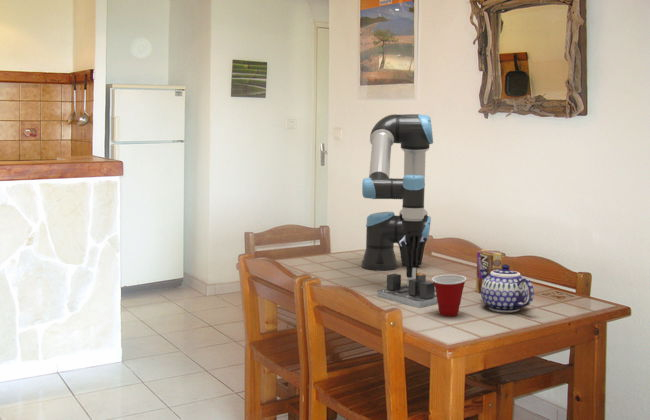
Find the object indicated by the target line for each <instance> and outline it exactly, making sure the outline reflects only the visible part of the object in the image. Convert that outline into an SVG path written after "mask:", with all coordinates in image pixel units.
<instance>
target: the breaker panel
mask: <svg viewBox="0 0 650 420" xmlns="http://www.w3.org/2000/svg"><path fill="white" fill-rule="evenodd" d="M376 296H377V297H378V298H382V299H386V300H389V301H394V302H397V303H401V304H405V305H408V306H412V307H416V308H419V309H420V308H425V307H428V306H433V305H434V306H435V305H438V302H437V295H436V288H435V285H434V282H433V281H429V280H428V281H427V280H426V282H423V280H421V279H412V280H409V286H407V284H405V285H402V275H401V274H397V273H391V274H390V273H389V274H387V275H386V288H384V289H380V290H377V291H376Z"/></svg>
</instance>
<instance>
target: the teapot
mask: <svg viewBox="0 0 650 420" xmlns="http://www.w3.org/2000/svg"><path fill="white" fill-rule="evenodd" d="M510 267H511V266H510V265H509V264H507V263H504V264H501V269H500V270H494V271H491V273H490V274H488V271H487V269H479V270H480V272H481V274H482V287H481V293H480V296H481V299H482V302H483V303H484V304H485V305H487V306H488V309H489V310H491V311H492V312H497V313H515V312H518V311H520V309H521V308H524V307H528V306H529V305H531V304H532V303H533V300H534V296H535V292H534V291H535V290H534V286H533V283H532V282H531V279H529V278H528V277H527V278H524V277H523V276H521V273H520V272H518V271H514V270H511V269H510Z"/></svg>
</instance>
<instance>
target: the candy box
mask: <svg viewBox="0 0 650 420" xmlns="http://www.w3.org/2000/svg"><path fill="white" fill-rule="evenodd" d="M476 254H477V257H476V258H477V259H476V278H475V279H476V280H475V281H476V282H475V292H477V293H479V294H481V287H482V274H481V272H480V270H479V269H487V271H488V274H490V273H491V271H494V270H500V269H502V257H503V256H502V255H503V254H502V253H500V252H495V251H491V250H487V249H481V250H480V249H479V250H477V253H476Z"/></svg>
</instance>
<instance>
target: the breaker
mask: <svg viewBox="0 0 650 420" xmlns="http://www.w3.org/2000/svg"><path fill="white" fill-rule="evenodd" d="M416 279H421V280H423V282H426V281H427V280H426V279H427V276H426V274H425V273H421V272H417V275H416Z"/></svg>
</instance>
